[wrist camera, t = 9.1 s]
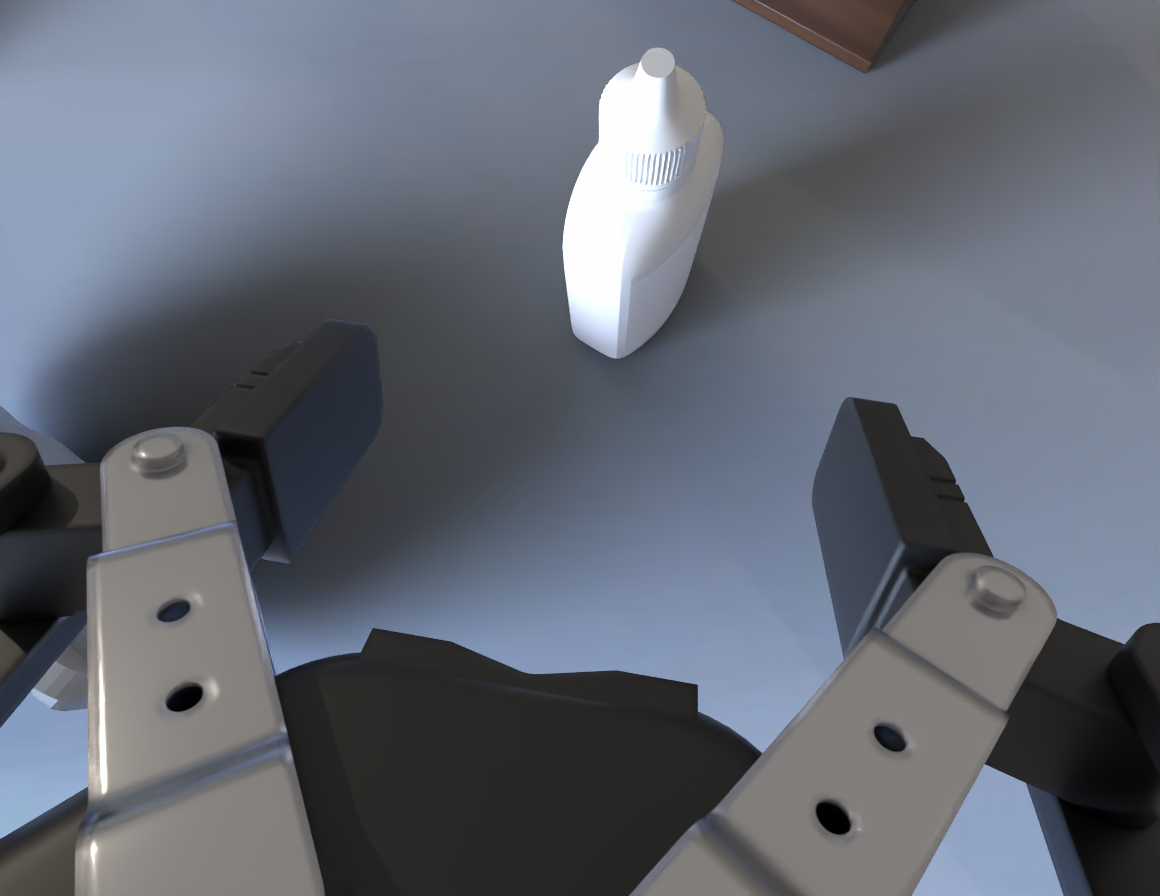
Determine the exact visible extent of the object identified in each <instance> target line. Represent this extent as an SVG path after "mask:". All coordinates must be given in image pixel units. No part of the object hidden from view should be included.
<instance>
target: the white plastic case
mask: <svg viewBox="0 0 1160 896" xmlns="http://www.w3.org/2000/svg"><path fill="white" fill-rule="evenodd" d="M0 432H5V433H15V434H20V435H23V436H26V437H28V438H29V439H31V440H32V441H33V442H34V443H35V444H36V446H37V449H38V451H39V453H40V455H41V458H42V460H43V462H44V464H45V465H61V464H81V463H85V462H84V461H83V460H81V459H80V458H79V457H78V456H77V455H75V454H74V453H73V452H72V451H70V450H69V449H68V448H67V447H65V446H64V445H63V444H62V443H60V442H59V441H56V440H54V439H52V438H50V437H47V436H45V435H43V434H40V433H38V432H36V431H33V430H31V429H29V428H27V427H26V426H24V425H22V424H21V423H19V422H18V421H17V420H16V419H15V418H14V417H13V416H12V415H11V414H10V413H8V412H7V411H6V410H5V409H4V408H3V407H1V406H0ZM30 693H31V694H32V695H34V696H35V697H37V698H38V699H39V700H40V701H42V702H43V703H44V704H45V705H47V706H48V707H49V708H50V709H54V710H59V711H69V710H78V709H86V708H88V679H87V624H86V625H85V627H84V628H83V629H82V630H81V631H80V633H79V634H78V635H77V636H76V637H75V639H74V640H73V641H72V642H71V643H70V645H69V646H68V647H67V648H66V649H65V651H64V652H63V653H62V654H61V655H60V657H59V658H58V659H57V660H56V661H55V663H54V664H53V665H52V666H51V667H50V669H49V670H48V671H47V672H46V673H45V675H44V676H43V677H42V678H41V679H40V681H39V682H38V683H37V684H36V685H35V687H34V688H33V689H32V690H31V691H30Z"/></svg>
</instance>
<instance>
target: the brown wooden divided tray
mask: <svg viewBox="0 0 1160 896" xmlns="http://www.w3.org/2000/svg"><path fill="white" fill-rule="evenodd" d="M733 1H735V2H737V3H739V4H741V5H742V6H744V7H746V8H748V9H750V10H752V11H753V12H755V13H757V14H759V15H761V16H762V17H764V18H766V19H768V20H770V21H771V22H773V23H775V24H777V25H779V26H781V27H782V28H784V29H786V30H788V31H790V32H791V33H793V34H795V35H797V36H799V37H800V38H802V39H804V40H806V41H808V42H810V43H811V44H813V45H815V46H817V47H819V48H820V49H822V50H824V51H826V52H828V53H829V54H831V55H833V56H835V57H837V58H839V59H840V60H842V61H844V62H846V63H848V64H849V65H851V66H853V67H855V68H857V69H858V70H860V71H862V72H864V73H867V72H868V71H869V69H870V68H871V66H872V65H873V63H874V62H875V60H876V59H877V58H878V56H879V55H880V53H881V52H882V50H883V49H884V47H885V46H886V44H887V43H888V41H889V40H890V38H891V37H892V35H893V34H894V32H895V31H896V29H897V28H898V27H899V25H900V24H901V22H902V21H903V19H904V18H905V16H906V15H907V13H908V12H909V10H910V9H911V7H912V6H913V4H914V3H915V1H916V0H733Z"/></svg>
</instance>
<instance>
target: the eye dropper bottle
mask: <svg viewBox="0 0 1160 896" xmlns="http://www.w3.org/2000/svg"><path fill="white" fill-rule="evenodd" d="M701 89H702V88H701V87H700V86H699V83H697V82H696V79H694V78H693V77H692V75H690V74H688V72H687V71H685V70H684V69H682V68H680V67H679V66H676V65H675V60H674V57H673V55H672V54H671V53H670V52H669V51H668V50H666V49H664V48H652V49H650V50H648V51H647V52H646V53H645V54H644V55H643V56H642V59H641V62H640V63H635V64H633V65H630V66H629V67H626V68H625V69H623V70H621V72H619V73H617V75H616V76H614V77H613V79H612V80H610V81H609V84H607V85H606V88H605V89H604V93H603V94H602V98H601V99H600V104H599V143H598V144H597V145H596V147H595V148H594V149H593V151H592V153H591V154H590V156H589V158H588V159H587V161H586V163H585V165H584V167H583V168H582V170H581V173H580V175H579V177H578V179H577V182H576V184H575V187H574V190H573V193H572V196H571V199H570V203H569V207H568V211H567V215H566V220H565V227H564V236H563V257H564V268H565V277H566V285H567V294H568V302H569V310H570V317H571V325H572V329H573V334H574V335H575V336H576V337H577V338H578V339H579V340H581V341H582V342H584V343H586V344H587V345H589V346H591V347H592V348H594V349H596V350H597V351H599V352H601V353H603V354H605V355H606V356H608V357H611V358H615V359H619V358H622V357H626V356H627V355H629V354H631V353H632V352H634V351H635V350H636V349H638V348H639V347H640V346H642V345H643V344H644V343H645V342H646V341H648V340H649V339H650V338H651V337H652V336H653V335H654V334H655V333H656V332H657V331H658V330H659V329H660V327H661V326H662V325H663V324H664V323H665V321H666V320H667V319H668V317H669V316H670V314H671V313H672V311H673V310H674V308H675V306H676V305H677V303H678V301H679V299H680V297H681V295H682V292H683V290H684V288H685V285H686V282H687V280H688V277H689V273H690V270H691V267H692V263H693V260H694V257H695V253H696V250H697V247H698V243H699V240H700V236H701V233H702V230H703V226H704V223H705V220H706V216H707V213H708V209H709V206H710V203H711V199H712V196H713V192H714V188H715V185H716V181H717V178H718V174H719V169H720V164H721V159H722V151H723V132H722V129H721V125H720V123H719V121H718V120H717V119H716V118H715V117H714V116H713V115H712V114H711V113H709V112H708V111H706V110H707V107H706V102H705V97H704V95H703V94H704V93H703V92H702V90H701Z"/></svg>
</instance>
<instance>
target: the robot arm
mask: <svg viewBox="0 0 1160 896" xmlns="http://www.w3.org/2000/svg"><path fill="white" fill-rule="evenodd" d="M382 411H383V400H382V389H381V378H380V367H379V355H378V344H377V336H376V332H375V330H374V328H373V327H372V326H371V325H368V324H361V323H354V322H347V321H341V320H334V319H326V320H324V321H323V322H322V323H321V324H320V325H319V326H318V327H317V328H316V329H315V330H314V331H313V332H311V333H310V334H309V335H308V336H307V337H306V338H305V339H304V340H303V341H302V342H301V343H297V342H293V343H290V344H288V345H286V346H284V347H282V348H279V349H277V350H275V351H273V352H271V353H269V354H267V355H266V356H264V357H263V358H262V359H261V360H260V361H259V362H258V363H257V364H256V365H255V366H254V367H253V368H251V369H250V373H249V374H247V373H246V374H245V375H244V376H243V377H242V378H241V379H240V380H238V381H237V382H236V383H235V387H231V388H230V389H229V390H228V391H227V392H225V393H224V394H223V395H222V396H221V397H220V398H219V399H218V400H217V401H216V402H215V403H213V404H212V405H211V406H210V407H209V408H208V409H207V410H206V411H205V412H204V413H203V414H202V415H200V416H199V417H198V418H197V419H196V420H195V421H194V422H193V423H192V424H191V425H190V426H189V427H165V428H158V429H153V430H149V431H145V432H142V433H139V434H136V435H134V436H131V437H129V438H127V439H125V440H123V441H121V442H120V443H118V444H117V445H115V446H114V447H113V448H112V449H110V450H109V451H108V452H107V453H106V455H105V456H104V457H103V459H102V461H101V463H81V464H61V465H45V464H44V462H43V460H42V458H41V455H40V453H39V451H38V449H37V446H36V444H35V443H34V442H33V441H32V440H31V439H29V438H28V437H26V436H23V435H20V434H15V433H5V432H0V728H1V726H2V725H3V724H4V723H5V722H6V720H7V719H8V718H9V717H10V716H11V714H12V713H13V712H14V711H15V710H16V708H17V707H18V706H19V705H20V703H21V702H22V701H23V700H24V699H25V697H26V696H27V695H28V694H29V693H30V691H31V690H32V689H33V688H34V687H35V685H36V684H37V683H38V682H39V681H40V679H41V678H42V677H43V676H44V675H45V673H46V672H47V671H48V670H49V669H50V667H51V666H52V665H53V664H54V663H55V661H56V660H57V659H58V658H59V657H60V655H61V654H62V653H63V652H64V651H65V649H66V648H67V647H68V646H69V645H70V643H71V642H72V641H73V640H74V639H75V637H76V636H77V635H78V634H79V633H80V631H81V630H82V629H83V628H84V627H85V625H86V624H87V679H88V787H87V788H85V789H84V790H82V791H80V792H79V793H77V794H75V795H74V796H72V797H70V798H69V799H67V800H65V801H64V802H62V803H60V804H58V805H57V806H55V807H53V808H52V809H50V810H48V811H47V812H45V813H43V814H42V815H40V816H38V817H37V818H35V819H33V820H32V821H30V822H28V823H27V824H25V825H23V826H22V827H20V828H18V829H17V830H15V831H13V832H12V833H10V834H8V835H7V836H5V837H3V838H1V839H0V896H912V894H913V892H914V890H915V889H916V887H917V885H918V883H919V881H920V879H921V878H922V876H923V874H924V872H925V870H926V869H927V867H928V865H929V863H930V861H931V860H932V858H933V856H934V854H935V852H936V851H937V849H938V847H939V845H940V843H941V842H942V840H943V838H944V836H945V834H946V833H947V831H948V829H949V827H950V825H951V824H952V822H953V820H954V818H955V816H956V814H957V813H958V811H959V809H960V807H961V805H962V804H963V802H964V800H965V798H966V796H967V795H968V793H969V791H970V789H971V787H972V786H973V784H974V782H975V780H976V778H977V777H978V775H979V773H980V771H981V769H982V768H983V766H984V764H986V765H988V766H990V767H992V768H995V769H997V770H999V771H1001V772H1003V773H1006V774H1008V775H1010V776H1012V777H1014V778H1016V779H1019V780H1021V781H1023V782H1025V783H1026V784H1027V787H1028V790H1029V793H1030V796H1031V799H1032V802H1033V805H1034V808H1035V811H1036V814H1037V817H1038V820H1039V823H1040V826H1041V829H1042V832H1043V835H1044V838H1045V841H1046V844H1047V847H1048V850H1049V853H1050V856H1051V859H1052V862H1053V865H1054V868H1055V871H1056V874H1057V877H1058V880H1059V883H1060V886H1061V888H1062V891H1063V894H1064V896H1160V623H1151V624H1146V625H1144V626H1142V627H1140V628H1139V629H1138V630H1137V631H1136V632H1135V633H1134V634H1133V635H1132V636H1131V638H1130V639H1129V640H1128V641H1127V642H1126V644H1125V645H1124V644H1122V643H1119V642H1117V641H1114V640H1111V639H1109V638H1106V637H1103V636H1101V635H1098V634H1096V633H1093V632H1090V631H1088V630H1085V629H1082V628H1080V627H1077V626H1075V625H1072V624H1069V623H1067V622H1065V621H1062V620H1060V619H1058V618H1057V613H1056V609H1055V606H1054V604H1053V602H1052V600H1051V598H1050V597H1049V596H1048V594H1047V593H1046V591H1045V590H1044V589H1043V588H1042V587H1041V586H1040V585H1039V584H1038V583H1037V582H1036V581H1034V580H1033V579H1032V578H1031V577H1029V576H1028V575H1027V574H1025V573H1024V572H1022V571H1021V570H1019V569H1017V568H1016V567H1014V566H1012V565H1010V564H1008V563H1006V562H1004V561H1001V560H999V559H996V558H994V557H993V554H992V552H991V550H990V548H989V546H988V544H987V542H986V540H985V538H984V536H983V534H982V532H981V530H980V528H979V526H978V524H977V522H976V520H975V518H974V516H973V514H972V512H971V510H970V508H969V506H968V504H967V503H965V502H964V499H965V498H964V495H963V493H962V491H961V489H960V487H959V485H956V484H955V483H956V479H955V477H954V475H953V473H952V471H951V469H950V467H949V465H948V463H947V461H946V459H945V458H944V457H943V456H942V455H941V454H940V453H939V452H938V451H937V450H935V449H934V448H933V447H932V446H931V445H930V444H929V443H928V442H927V441H926V440H925V439H924V438H919V437H912V436H910V433H909V431H908V429H907V427H906V424H905V422H904V420H903V418H902V415H901V413H900V411H899V409H898V407H897V405H895V404H893V403H886V402H879V401H872V400H866V399H859V398H852V397H848V398H846V399H845V400H844V402H843V403H842V405H841V407H840V409H839V412H838V415H837V417H836V420H835V423H834V426H833V428H832V431H831V434H830V436H829V439H828V442H827V445H826V447H825V450H824V453H823V455H822V458H821V461H820V464H819V466H818V469H817V472H816V475H815V479H814V485H813V492H812V506H813V511H814V516H815V521H816V526H817V531H818V536H819V540H820V545H821V550H822V555H823V560H824V565H825V569H826V574H827V579H828V584H829V589H830V593H831V598H832V603H833V608H834V613H835V618H836V622H837V627H838V632H839V637H840V642H841V647H842V651H843V656H844V661H843V662H842V663H841V664H840V665H839V667H838V668H837V669H836V670H835V671H834V672H833V673H832V675H831V676H830V677H829V678H828V679H827V680H826V682H825V683H824V684H823V685H822V686H821V687H820V688H819V690H818V691H817V692H816V693H815V694H814V695H813V696H812V698H811V699H810V700H809V701H808V702H807V703H806V704H805V706H804V707H803V708H802V709H801V710H800V711H799V713H798V714H797V715H796V716H795V717H794V718H793V719H792V721H791V722H790V723H789V724H788V725H787V726H786V727H785V729H784V730H783V731H782V732H781V733H780V734H779V736H778V737H777V738H776V739H775V740H774V741H773V742H772V744H771V745H770V746H769V747H768V748H767V749H766V750H765V752H764V753H761V752H760V751H759V750H758V749H757V748H756V747H754V746H753V745H752V744H751V743H750V742H749V741H747V740H746V739H745V738H743V737H742V736H741V735H739V734H738V733H736V732H735V731H733V730H732V729H730V728H729V727H727V726H726V725H724V724H722V723H720V722H718V721H717V720H715V719H713V718H711V717H709V716H707V715H705V714H702V713H700V712H698V685H696V684H690V683H685V682H679V681H673V680H667V679H662V678H656V677H650V676H645V675H639V674H633V673H627V672H622V671H596V672H576V673H555V674H528V673H524V672H521V671H518V670H516V669H514V668H511V667H509V666H507V665H504V664H502V663H500V662H497V661H495V660H493V659H490V658H488V657H486V656H483V655H481V654H479V653H476V652H474V651H472V650H469V649H467V648H465V647H462V646H460V645H458V644H455V643H453V642H450V641H444V640H439V639H433V638H427V637H422V636H416V635H410V634H404V633H399V632H393V631H387V630H382V629H376V628H373V629H372V631H371V633H370V635H369V637H368V639H367V641H366V643H365V645H364V647H363V649H362V651H361V653H350V654H343V655H337V656H331V657H327V658H323V659H319V660H315V661H311V662H308V663H306V664H303V665H300V666H297V667H294V668H292V669H289V670H287V671H285V672H283V673H281V674H279V675H277V673H276V669H275V665H274V661H273V657H272V653H271V649H270V644H269V640H268V636H267V632H266V628H265V624H264V620H263V616H262V612H261V608H260V604H259V600H258V596H257V592H256V588H255V584H254V580H253V577H252V573H251V571H252V570H253V569H254V567H255V566H256V565H257V563H258V562H259V560H260V559H265V560H271V561H276V562H282V563H288V564H290V563H291V562H292V560H293V559H294V557H295V556H296V554H297V553H298V551H299V550H300V548H301V547H302V545H303V544H304V542H305V541H306V539H307V538H308V536H309V535H310V533H311V532H312V530H313V529H314V527H315V526H316V524H317V523H318V522H319V520H320V519H321V517H322V516H323V514H324V513H325V511H326V510H327V508H328V507H329V505H330V504H331V502H332V501H333V499H334V498H335V496H336V495H337V493H338V492H339V490H340V489H341V487H342V486H343V484H344V483H345V481H346V480H347V478H348V477H349V475H350V474H351V472H352V471H353V469H354V468H355V467H356V465H357V464H358V462H359V461H360V459H361V458H362V456H363V455H364V453H365V452H366V450H367V449H368V447H369V446H370V444H371V443H372V441H373V440H374V438H375V437H376V435H377V432H378V430H379V427H380V423H381V419H382Z"/></svg>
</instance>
